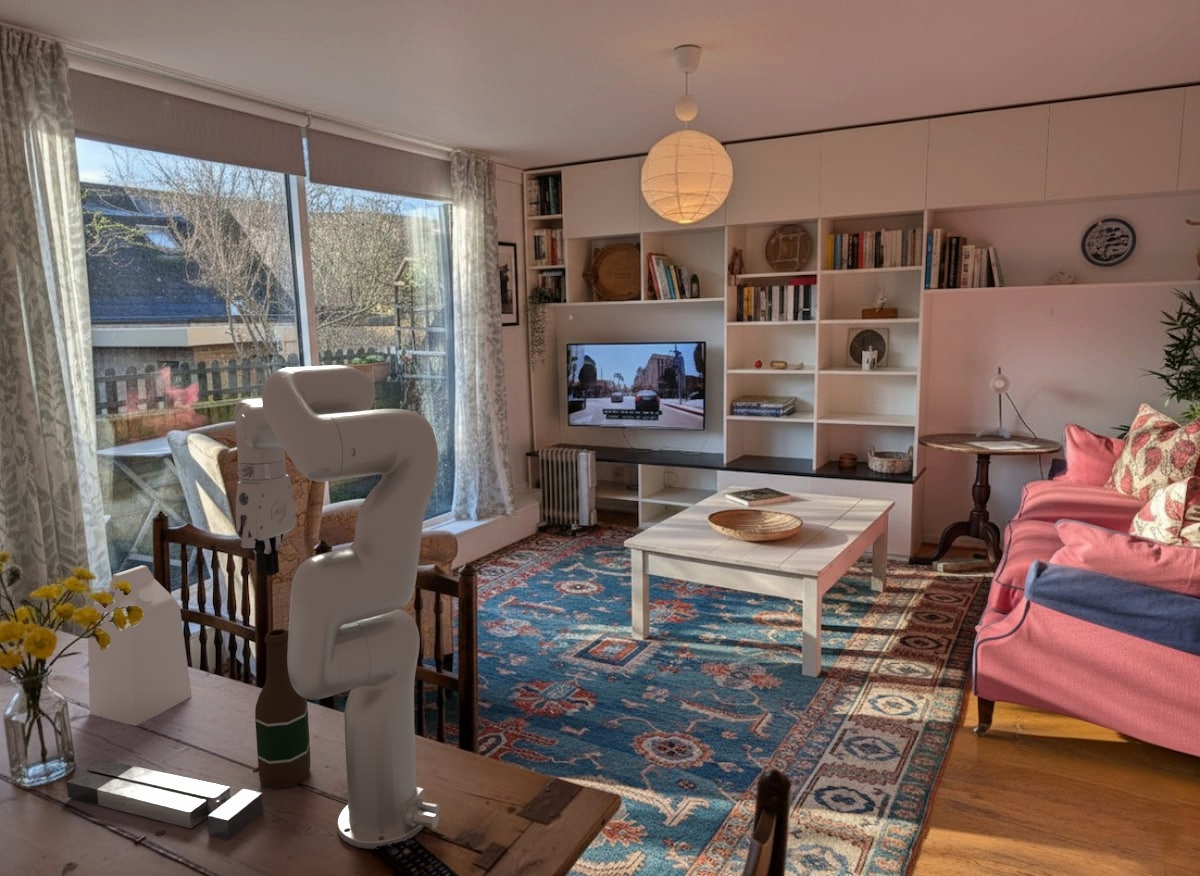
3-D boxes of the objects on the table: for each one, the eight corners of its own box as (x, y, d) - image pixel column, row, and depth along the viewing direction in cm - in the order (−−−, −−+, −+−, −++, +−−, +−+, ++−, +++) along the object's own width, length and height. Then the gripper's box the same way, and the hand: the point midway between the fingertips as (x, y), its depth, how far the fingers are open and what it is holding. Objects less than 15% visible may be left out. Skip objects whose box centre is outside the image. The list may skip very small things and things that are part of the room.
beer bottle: (294, 794, 125) (285, 644, 121) (248, 787, 126) (238, 640, 122) (321, 766, 132) (313, 624, 128) (277, 760, 134) (269, 620, 130)
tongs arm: (241, 804, 121) (240, 789, 121) (219, 823, 117) (217, 807, 117) (105, 774, 129) (104, 759, 129) (79, 790, 125) (77, 775, 124)
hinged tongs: (263, 811, 120) (262, 793, 120) (229, 839, 114) (227, 820, 113) (107, 774, 129) (106, 757, 129) (68, 799, 123) (66, 780, 123)
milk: (147, 686, 160) (136, 557, 156) (191, 696, 156) (181, 564, 152) (89, 714, 149) (76, 576, 145) (135, 726, 145) (123, 584, 141)
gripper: (249, 480, 132) (255, 589, 135) (309, 464, 146) (313, 563, 149) (211, 477, 135) (219, 584, 138) (274, 461, 149) (279, 559, 152)
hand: (268, 573), depth 143 cm, fingers closed
